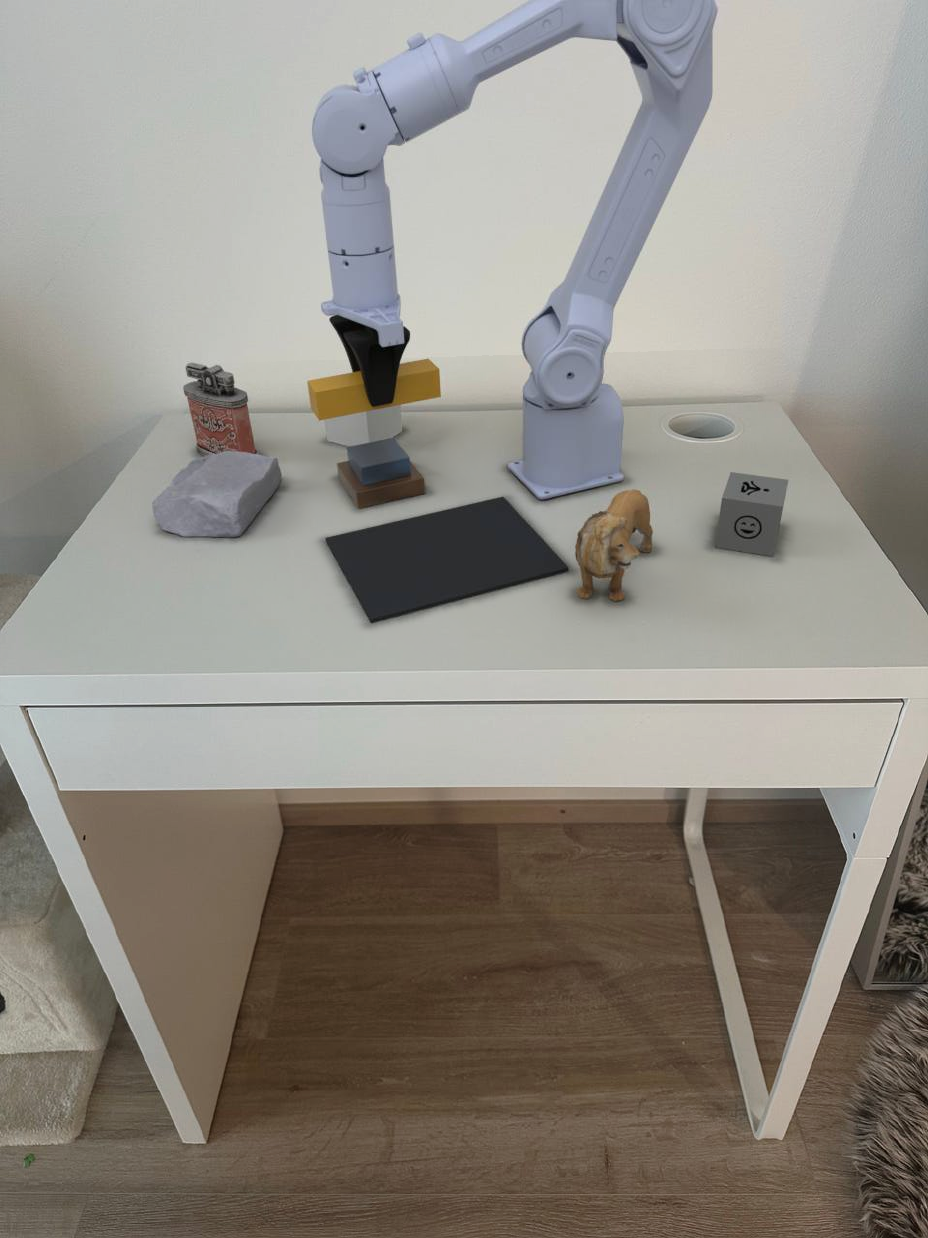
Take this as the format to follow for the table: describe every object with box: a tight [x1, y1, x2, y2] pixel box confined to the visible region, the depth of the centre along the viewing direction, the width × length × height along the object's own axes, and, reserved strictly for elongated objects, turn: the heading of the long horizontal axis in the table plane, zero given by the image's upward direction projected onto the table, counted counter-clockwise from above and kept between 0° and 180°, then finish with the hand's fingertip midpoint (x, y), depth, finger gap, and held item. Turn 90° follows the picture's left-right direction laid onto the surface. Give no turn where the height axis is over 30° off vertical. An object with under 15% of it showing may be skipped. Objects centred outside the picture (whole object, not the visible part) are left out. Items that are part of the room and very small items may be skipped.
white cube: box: [324, 405, 403, 447], centre depth 103 cm, size 6×6×6 cm
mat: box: [325, 496, 570, 624], centre depth 84 cm, size 18×14×1 cm
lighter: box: [182, 362, 259, 457], centre depth 99 cm, size 8×3×10 cm, turn 58°
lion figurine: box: [574, 488, 654, 602], centre depth 78 cm, size 15×5×9 cm, turn 162°
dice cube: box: [714, 471, 789, 558], centre depth 83 cm, size 5×5×5 cm
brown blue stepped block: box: [336, 437, 426, 509], centre depth 94 cm, size 7×7×4 cm
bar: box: [306, 358, 442, 422], centre depth 88 cm, size 12×3×3 cm, turn 112°
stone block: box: [151, 451, 282, 538], centre depth 92 cm, size 12×5×10 cm
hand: (375, 396), depth 88 cm, fingers closed on bar, 3 cm apart
